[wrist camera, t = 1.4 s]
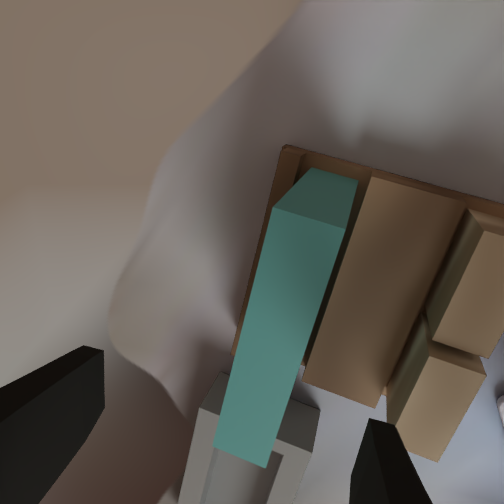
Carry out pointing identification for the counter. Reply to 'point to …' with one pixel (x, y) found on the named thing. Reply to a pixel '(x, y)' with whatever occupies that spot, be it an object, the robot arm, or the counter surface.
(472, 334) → the offcut
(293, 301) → the board
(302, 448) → the stand
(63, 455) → the robot arm
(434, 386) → the offcut
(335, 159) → the rack
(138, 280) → the counter surface
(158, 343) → the counter surface
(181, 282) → the counter surface
